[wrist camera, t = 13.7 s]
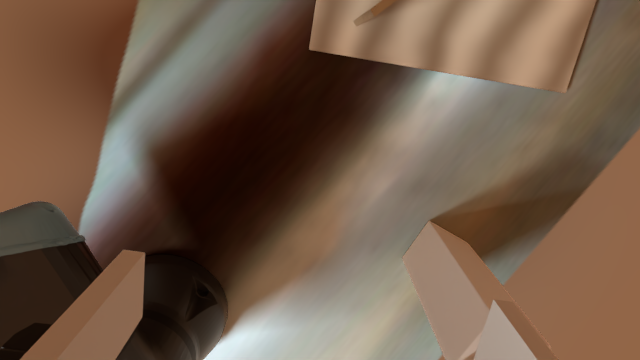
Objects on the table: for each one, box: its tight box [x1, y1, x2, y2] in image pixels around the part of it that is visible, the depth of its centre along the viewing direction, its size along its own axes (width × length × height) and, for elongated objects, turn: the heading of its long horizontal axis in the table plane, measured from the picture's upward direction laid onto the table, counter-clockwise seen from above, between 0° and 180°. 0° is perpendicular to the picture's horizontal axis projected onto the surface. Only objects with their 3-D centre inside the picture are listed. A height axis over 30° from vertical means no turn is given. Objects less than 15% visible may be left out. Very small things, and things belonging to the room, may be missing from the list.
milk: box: [402, 221, 551, 360], centre depth 41 cm, size 6×6×22 cm
